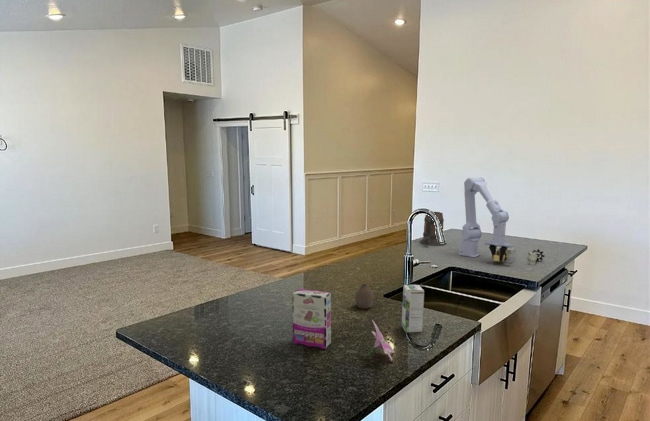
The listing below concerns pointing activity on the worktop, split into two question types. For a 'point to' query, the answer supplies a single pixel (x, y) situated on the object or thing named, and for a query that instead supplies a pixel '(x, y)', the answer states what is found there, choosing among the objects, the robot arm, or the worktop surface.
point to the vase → (363, 297)
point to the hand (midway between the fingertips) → (497, 259)
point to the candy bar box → (312, 318)
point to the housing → (508, 254)
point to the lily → (381, 342)
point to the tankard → (431, 230)
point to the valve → (534, 257)
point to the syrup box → (412, 308)
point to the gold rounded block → (498, 256)
